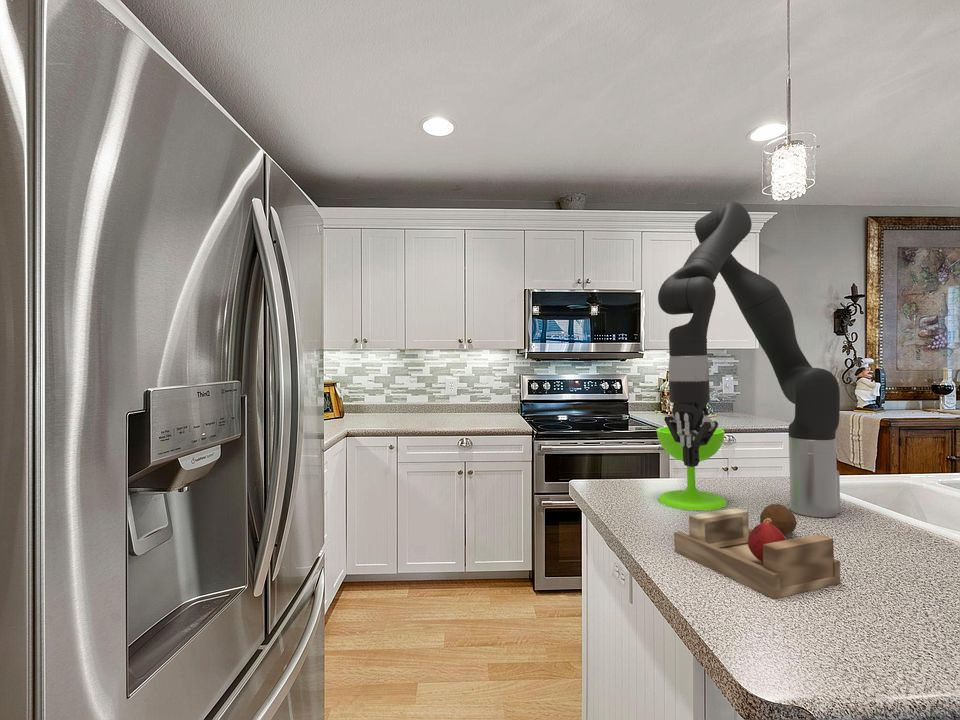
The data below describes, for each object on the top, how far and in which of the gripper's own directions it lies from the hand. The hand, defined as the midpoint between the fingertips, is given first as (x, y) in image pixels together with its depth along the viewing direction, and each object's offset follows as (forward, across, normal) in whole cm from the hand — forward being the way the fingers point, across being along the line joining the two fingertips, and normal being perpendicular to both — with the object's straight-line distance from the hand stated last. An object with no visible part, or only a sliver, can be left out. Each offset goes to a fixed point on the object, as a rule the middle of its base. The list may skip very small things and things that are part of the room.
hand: (691, 465), depth 106 cm
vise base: (+15, -14, 0) cm, 20 cm away
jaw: (+13, -7, 0) cm, 15 cm away
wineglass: (+15, +23, -20) cm, 34 cm away
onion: (+14, -18, 0) cm, 22 cm away
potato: (+15, -4, -18) cm, 24 cm away
